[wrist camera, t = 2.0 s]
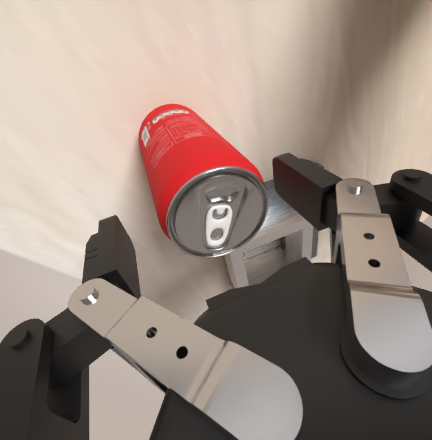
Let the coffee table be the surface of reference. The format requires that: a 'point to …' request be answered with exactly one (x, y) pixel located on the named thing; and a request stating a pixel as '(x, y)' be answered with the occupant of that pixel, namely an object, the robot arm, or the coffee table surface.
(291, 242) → the jig
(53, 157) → the coffee table surface
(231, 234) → the beverage can
